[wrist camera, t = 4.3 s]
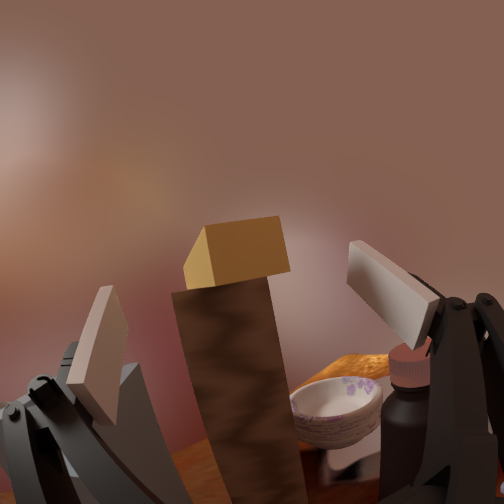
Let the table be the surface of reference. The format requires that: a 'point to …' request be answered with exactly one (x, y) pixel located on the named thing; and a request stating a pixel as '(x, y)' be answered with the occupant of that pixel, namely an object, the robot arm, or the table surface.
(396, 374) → the bottle
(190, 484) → the table surface
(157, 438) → the grey u cradle
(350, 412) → the paper bowls
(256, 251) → the ochre bar
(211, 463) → the table surface
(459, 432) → the robot arm
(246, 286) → the walnut pedestal
